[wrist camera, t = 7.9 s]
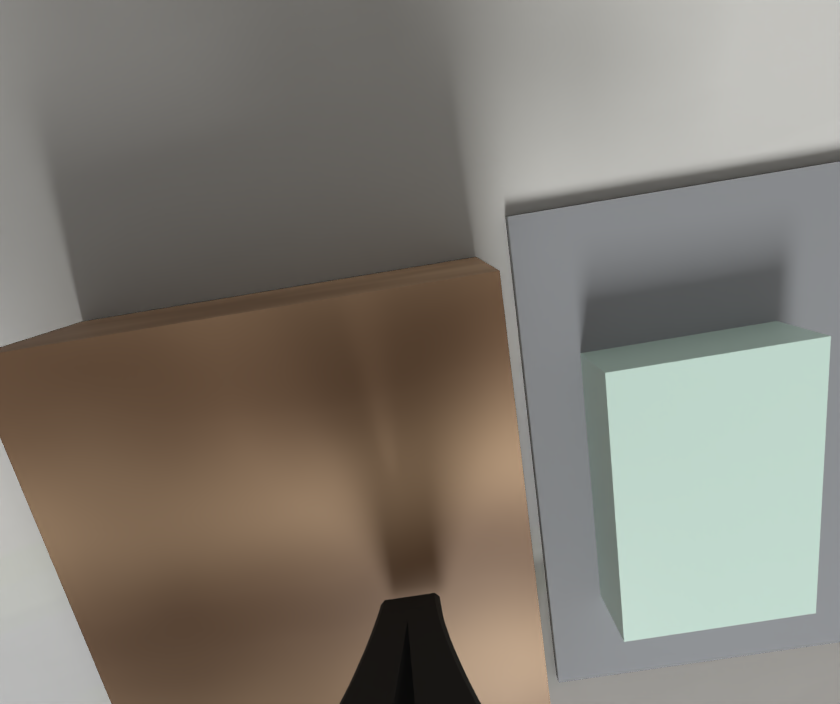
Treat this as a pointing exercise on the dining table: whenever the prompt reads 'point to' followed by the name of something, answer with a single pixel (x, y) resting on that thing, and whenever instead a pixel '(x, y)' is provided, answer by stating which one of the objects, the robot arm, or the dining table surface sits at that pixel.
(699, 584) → the mint green carton
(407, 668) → the robot arm
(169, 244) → the dining table surface
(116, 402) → the brown wooden block
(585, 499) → the mat
